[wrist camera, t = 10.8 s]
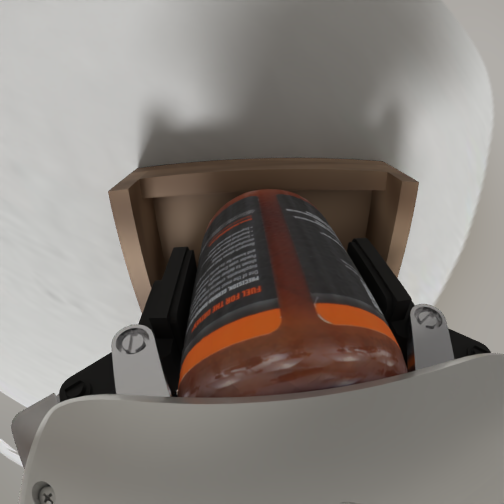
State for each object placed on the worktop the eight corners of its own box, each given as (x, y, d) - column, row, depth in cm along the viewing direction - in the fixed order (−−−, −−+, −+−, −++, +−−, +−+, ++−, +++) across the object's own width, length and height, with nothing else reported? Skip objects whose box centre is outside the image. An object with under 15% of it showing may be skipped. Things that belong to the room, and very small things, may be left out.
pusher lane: (137, 168, 14) (45, 249, 7) (382, 161, 15) (488, 231, 7) (201, 410, 28) (197, 482, 20) (325, 403, 28) (340, 472, 20)
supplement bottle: (189, 275, 14) (148, 517, 4) (228, 164, 11) (193, 505, 2) (295, 306, 15) (337, 517, 6) (350, 212, 13) (495, 442, 3)
